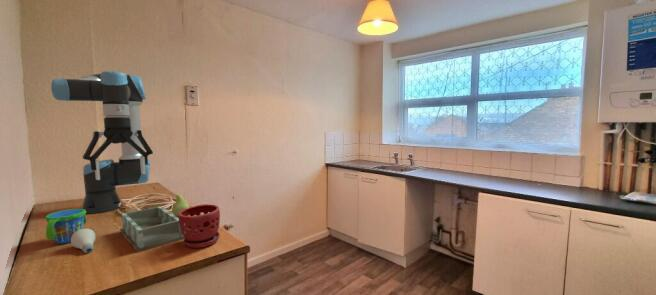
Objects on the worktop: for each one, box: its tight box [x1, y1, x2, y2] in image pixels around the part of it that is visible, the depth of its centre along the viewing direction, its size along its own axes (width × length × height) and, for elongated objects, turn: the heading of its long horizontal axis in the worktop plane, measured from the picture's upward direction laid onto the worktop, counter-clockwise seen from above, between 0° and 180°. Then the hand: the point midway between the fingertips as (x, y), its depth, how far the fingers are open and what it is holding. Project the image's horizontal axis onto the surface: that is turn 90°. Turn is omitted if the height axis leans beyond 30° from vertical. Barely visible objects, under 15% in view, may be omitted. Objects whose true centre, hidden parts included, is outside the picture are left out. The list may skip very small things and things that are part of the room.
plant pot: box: [177, 204, 221, 249], centre depth 101 cm, size 13×13×12 cm
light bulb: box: [70, 228, 97, 254], centre depth 97 cm, size 7×7×11 cm
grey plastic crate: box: [119, 205, 185, 253], centre depth 108 cm, size 25×15×7 cm, turn 46°
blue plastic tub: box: [45, 208, 88, 245], centre depth 104 cm, size 16×10×10 cm
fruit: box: [169, 190, 190, 217], centre depth 128 cm, size 7×8×12 cm
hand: (121, 176), depth 104 cm, fingers open, 13 cm apart
